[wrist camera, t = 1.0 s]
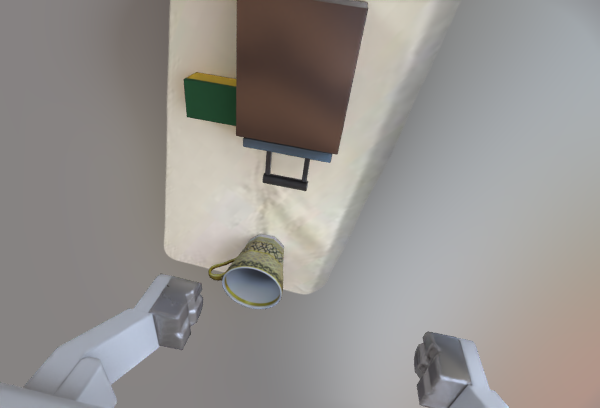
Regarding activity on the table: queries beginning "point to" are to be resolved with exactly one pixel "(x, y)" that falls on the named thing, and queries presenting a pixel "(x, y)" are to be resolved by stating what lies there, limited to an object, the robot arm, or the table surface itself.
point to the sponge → (211, 98)
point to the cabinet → (296, 69)
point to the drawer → (286, 150)
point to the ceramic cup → (255, 273)
